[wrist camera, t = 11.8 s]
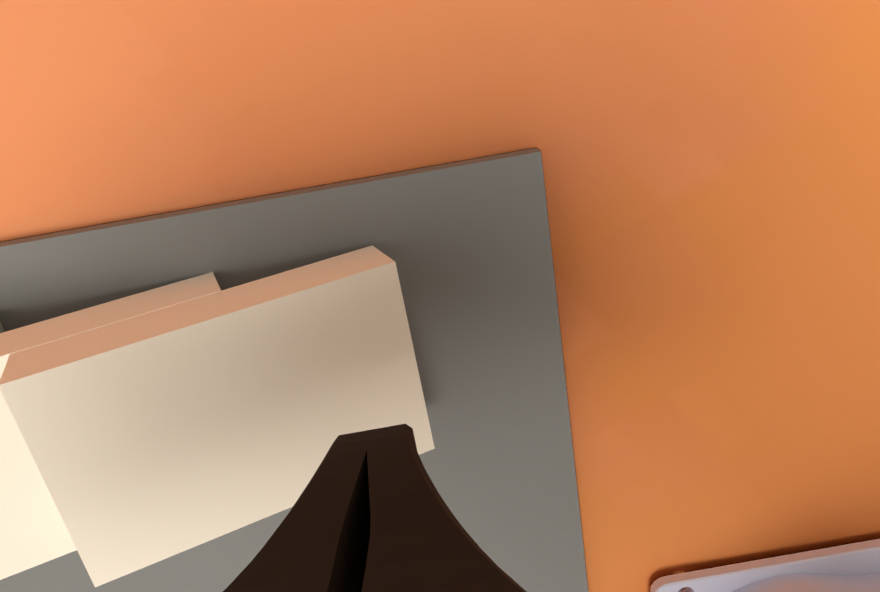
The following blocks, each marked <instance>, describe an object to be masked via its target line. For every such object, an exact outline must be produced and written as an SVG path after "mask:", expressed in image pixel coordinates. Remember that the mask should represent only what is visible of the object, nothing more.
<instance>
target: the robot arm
mask: <svg viewBox="0 0 880 592" xmlns="http://www.w3.org/2000/svg"><path fill="white" fill-rule="evenodd" d="M685 587H686V588H685ZM682 588H685V589H683V590H680V589H682ZM223 592H527V591H525V590H524V589H523V588H522V587H521V586H520V585H519V584H518V583H516V582H515V581H514V580H513V579H512V578H511V577H510V576H509V575H507V574H506V573H505V572H504V571H503V570H502V569H501V568H500V567H499V566H497V565H496V564H495V563H494V562H493V560H492V559H491V558H490V557H489V556H488V555H487V554H486V553H485V552H484V551H483V550H482V549H481V548H480V547H479V546H478V544H477V543H476V542H475V541H474V540H473V539H472V538H471V536H470V535H469V534H468V533H467V532H466V530H465V529H464V528H463V527H462V525H461V524H460V523H459V521H458V520H457V519H456V517H455V516H454V515H453V513H452V512H451V510H450V509H449V508H448V506H447V505H446V503H445V502H444V500H443V499H442V497H441V496H440V494H439V493H438V491H437V489H436V487H435V486H434V484H433V482H432V480H431V479H430V477H429V475H428V473H427V472H426V470H425V468H424V466H423V464H422V461H421V459H420V457H419V454H418V452H417V447H416V442H415V437H414V433H413V428H411V427H410V426H408V425H407V424H400V425H395V426H389V427H383V428H378V429H372V430H366V431H361V432H355V433H349V434H343V435H339V436H338V437H337V438H336V440H335V441H334V442H333V444H332V446H331V447H330V449H329V450H328V452H327V454H326V456H325V457H324V459H323V461H322V462H321V464H320V465H319V467H318V469H317V470H316V472H315V474H314V475H313V477H312V478H311V480H310V482H309V483H308V485H307V486H306V488H305V489H304V491H303V492H302V494H301V495H300V497H299V498H298V500H297V501H296V503H295V504H294V506H293V507H292V509H291V510H290V512H289V513H288V514H287V516H286V517H285V519H284V520H283V521H282V523H281V524H280V525H279V527H278V528H277V529H276V531H275V532H274V533H273V535H272V536H271V537H270V539H269V540H268V541H267V542H266V544H265V545H264V546H263V548H262V549H261V550H260V551H259V553H258V554H257V555H256V556H255V557H254V559H253V560H252V561H251V562H250V563H249V564H248V565H247V567H246V568H245V569H244V570H243V571H242V572H241V573H240V574H239V575H238V576H237V577H236V578H235V580H234V581H233V582H232V583H231V584H230V585H229V586H228V587H227V588H226V589H225V590H224V591H223ZM650 592H880V539H874V540H869V541H863V542H857V543H851V544H846V545H840V546H834V547H828V548H823V549H817V550H811V551H806V552H800V553H794V554H788V555H783V556H777V557H771V558H765V559H760V560H754V561H748V562H742V563H737V564H731V565H725V566H719V567H714V568H708V569H702V570H696V571H691V572H685V573H679V574H673V575H668V576H663V577H660V578H658V579H657V580H655V581H654V582H653V584H652V585H651V589H650Z"/></svg>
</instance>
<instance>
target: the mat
mask: <svg viewBox="0 0 880 592" xmlns="http://www.w3.org/2000/svg"><path fill="white" fill-rule="evenodd" d="M372 245H373V246H374V247H375V248H377V249H378V250H380V251H381V252H382V253H384V254H385V255H387V256H388V257H389V258H391V259H392V260H394V261H395V263H396V268H397V272H398V277H399V282H400V286H401V291H402V296H403V301H404V305H405V310H406V315H407V320H408V324H409V329H410V334H411V339H412V343H413V348H414V353H415V357H416V362H417V367H418V372H419V376H420V381H421V386H422V391H423V395H424V400H425V405H426V409H427V414H428V419H429V424H430V428H431V433H432V438H433V443H434V447H435V449H432V450H430V451H427V452H425V453H422V454H420V455H419V457H420V459H421V461H422V464H423V466H424V468H425V470H426V472H427V473H428V475H429V477H430V479H431V480H432V482H433V484H434V486H435V487H436V489H437V491H438V493H439V494H440V496H441V497H442V499H443V500H444V502H445V503H446V505H447V506H448V508H449V509H450V510H451V512H452V513H453V515H454V516H455V517H456V519H457V520H458V521H459V523H460V524H461V525H462V527H463V528H464V529H465V530H466V532H467V533H468V534H469V535H470V536H471V538H472V539H473V540H474V541H475V542H476V543H477V544H478V546H479V547H480V548H481V549H482V550H483V551H484V552H485V553H486V554H487V555H488V556H489V557H490V558H491V559H492V560H493V562H494V563H495V564H496V565H497V566H499V567H500V568H501V569H502V570H503V571H504V572H505V573H506V574H507V575H509V576H510V577H511V578H512V579H513V580H514V581H515V582H516V583H518V584H519V585H520V586H521V587H522V588H523V589H524V590H525V591H527V592H588V584H587V574H586V565H585V556H584V546H583V537H582V528H581V518H580V509H579V500H578V490H577V481H576V472H575V463H574V453H573V444H572V435H571V425H570V416H569V407H568V397H567V388H566V379H565V370H564V360H563V351H562V342H561V332H560V323H559V314H558V304H557V295H556V286H555V277H554V267H553V258H552V249H551V239H550V230H549V221H548V211H547V202H546V193H545V183H544V174H543V165H542V156H541V151H540V150H539V149H538V148H532V149H527V150H521V151H515V152H510V153H504V154H498V155H493V156H487V157H481V158H476V159H470V160H464V161H459V162H453V163H447V164H441V165H436V166H430V167H424V168H419V169H413V170H407V171H402V172H396V173H390V174H385V175H379V176H373V177H368V178H362V179H356V180H351V181H345V182H339V183H334V184H328V185H322V186H317V187H311V188H305V189H300V190H294V191H288V192H283V193H277V194H271V195H265V196H260V197H254V198H248V199H243V200H237V201H231V202H226V203H220V204H214V205H209V206H203V207H197V208H192V209H186V210H180V211H175V212H169V213H163V214H158V215H152V216H146V217H141V218H135V219H129V220H124V221H118V222H112V223H107V224H101V225H95V226H89V227H84V228H78V229H72V230H67V231H61V232H55V233H50V234H44V235H38V236H33V237H27V238H21V239H16V240H10V241H4V242H0V322H1V324H2V326H3V328H4V330H5V332H6V331H10V330H13V329H17V328H20V327H24V326H27V325H31V324H34V323H38V322H41V321H44V320H48V319H51V318H55V317H58V316H62V315H65V314H69V313H72V312H75V311H79V310H82V309H86V308H89V307H93V306H96V305H100V304H103V303H107V302H110V301H113V300H117V299H120V298H124V297H127V296H131V295H134V294H138V293H141V292H145V291H148V290H151V289H155V288H158V287H162V286H165V285H169V284H172V283H176V282H179V281H182V280H186V279H189V278H193V277H196V276H200V275H203V274H207V273H210V272H213V274H214V276H215V278H216V280H217V283H218V285H219V287H220V289H221V291H222V290H225V289H229V288H232V287H235V286H239V285H242V284H245V283H249V282H252V281H255V280H259V279H262V278H265V277H268V276H272V275H275V274H278V273H282V272H285V271H288V270H292V269H295V268H298V267H302V266H305V265H308V264H312V263H315V262H318V261H322V260H325V259H328V258H332V257H335V256H338V255H342V254H345V253H348V252H352V251H355V250H358V249H362V248H365V247H368V246H372ZM291 509H292V507H291V508H288V509H286V510H283V511H281V512H278V513H276V514H274V515H271V516H269V517H266V518H264V519H261V520H259V521H256V522H254V523H252V524H249V525H247V526H244V527H242V528H239V529H237V530H235V531H232V532H230V533H227V534H225V535H222V536H220V537H217V538H215V539H213V540H210V541H208V542H205V543H203V544H200V545H198V546H195V547H193V548H191V549H188V550H186V551H183V552H181V553H178V554H176V555H174V556H171V557H169V558H166V559H164V560H161V561H159V562H156V563H154V564H152V565H149V566H147V567H144V568H142V569H139V570H137V571H134V572H132V573H130V574H127V575H125V576H122V577H120V578H117V579H115V580H112V581H110V582H108V583H105V584H103V585H100V586H98V587H94V584H93V582H92V580H91V578H90V576H89V574H88V572H87V570H86V568H85V566H84V564H83V561H82V559H81V557H80V555H79V553H78V551H77V550H76V551H73V552H71V553H68V554H66V555H63V556H61V557H58V558H55V559H53V560H50V561H48V562H45V563H43V564H40V565H37V566H35V567H32V568H30V569H27V570H25V571H22V572H20V573H17V574H14V575H12V576H9V577H7V578H4V579H2V580H0V592H223V591H224V590H225V589H226V588H227V587H228V586H229V585H230V584H231V583H232V582H233V581H234V580H235V578H236V577H237V576H238V575H239V574H240V573H241V572H242V571H243V570H244V569H245V568H246V567H247V565H248V564H249V563H250V562H251V561H252V560H253V559H254V557H255V556H256V555H257V554H258V553H259V551H260V550H261V549H262V548H263V546H264V545H265V544H266V542H267V541H268V540H269V539H270V537H271V536H272V535H273V533H274V532H275V531H276V529H277V528H278V527H279V525H280V524H281V523H282V521H283V520H284V519H285V517H286V516H287V514H288V513H289V512H290V510H291Z"/></svg>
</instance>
